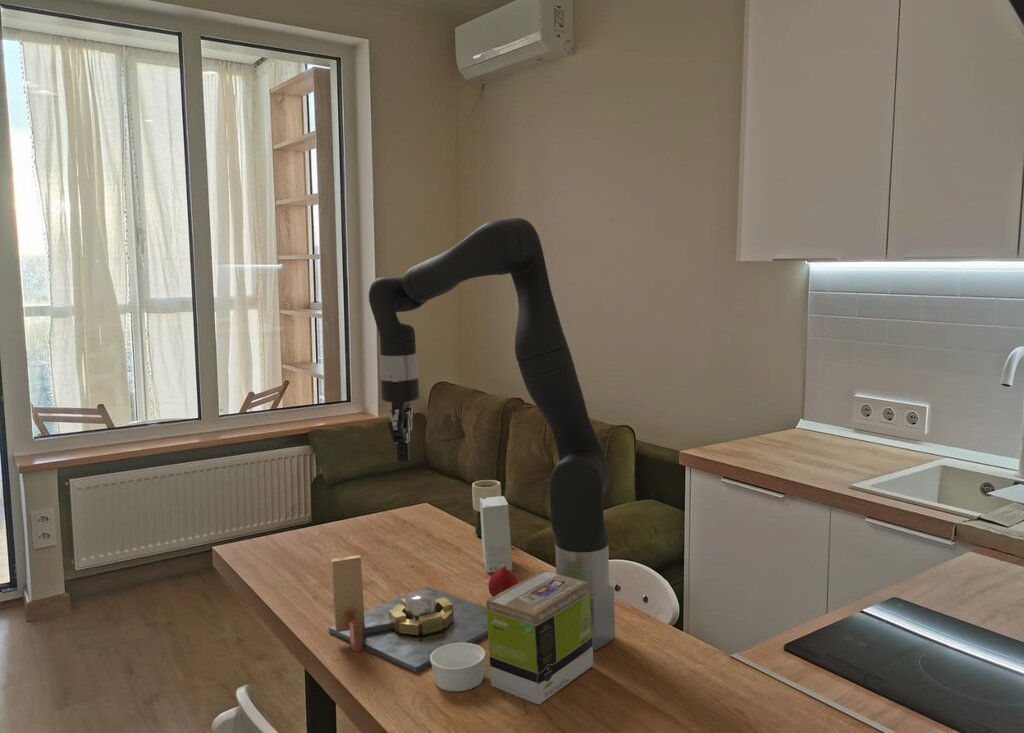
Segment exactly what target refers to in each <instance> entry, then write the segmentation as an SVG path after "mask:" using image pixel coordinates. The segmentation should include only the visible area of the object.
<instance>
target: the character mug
mask: <svg viewBox="0 0 1024 733" xmlns="http://www.w3.org/2000/svg"><path fill="white" fill-rule="evenodd" d="M471 491H472V493H471V494H472V508H473V510H474V511H476V512H477V513H476V519H475V521H476V522H475V535H476V536H479V537H482V533H481V515H480V498H488V497H498V496H502V485H501V482H500V481H499V480H495V479H484V480H477V481H475V482H473V483H471Z"/></svg>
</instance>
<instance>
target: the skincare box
mask: <svg viewBox="0 0 1024 733" xmlns="http://www.w3.org/2000/svg"><path fill="white" fill-rule="evenodd" d="M480 515H481V533H482V536H481V546H482V549H481V550H482V561H483V565H484V568H485V570H486V573H487V574H488V573H489V574H491V573H492V574H493V573H494V572H496V571H497V570H498V569H499V568H500V567H501V566H502V565H505V566H506V569H508V570H509V571H511V572H512V571H513V560H512V559H513V558H512V555H513V554H512V543H511V541H512V540H511V528H510V527H511V526H510V514H509V503H508V501H507V499H506V497H505V496H504V495H501V496H498V497H488V498H480Z"/></svg>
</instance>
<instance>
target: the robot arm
mask: <svg viewBox="0 0 1024 733" xmlns="http://www.w3.org/2000/svg"><path fill="white" fill-rule="evenodd" d="M509 274H510V277H511V279H512V282H513V284H514V289H515V292H516V296H517V301H518V302H517V304H518V315H517V322H516V330H515V335H514V336H515V337H514V353H515V358H516V361H517V365H518V368H519V372H520V374H521V378H522V380H523V383H524V386H525V389H526V390H527V392H528V394H529V396H530V398H531V400H532V401H533V402H534V404H535V406H536V407H537V408H538V410H539V412H540V413H541V414H542V416H543V418H544V419H545V420H546V422H547V425H548V426H549V428H550V431H551V435H552V436H553V440H554V443H555V444H554V445H555V447H556V450H557V455H558V460H559V461H558V463H557V464H555V466H554V468H553V469H552V471H551V474H550V477H549V504H550V505H549V506H550V507H549V508H550V510H549V511H550V520H551V528H552V532H553V534H554V541H555V542H554V543H555V544H554V546H555V574H558V575H562V576H566V577H570V578H574V579H579V580H583V581H587V582H589V583H590V602H591V621H592V645H593V652H594V651H597V650H599V649H600V648H601V647H604V646H605V645H606V644H608V643H609V642H611V641H613V640H614V638H615V639H616V627H615V626H616V625H615V624H616V621H615V619H616V618H615V587H614V586H613V585H610V572H609V571H610V567H609V566H610V565H609V562H610V561H609V558H610V557H609V529H608V528H607V526H606V525H605V519H604V495H605V493H606V491H607V490H608V489H609V486H610V483H611V469H610V465H609V463H608V459H607V457H606V455H605V453H604V450H603V448H602V446H601V444H600V442H599V440H598V437H597V434H596V432H595V430H594V428H593V426H592V423H591V419H590V417H589V414H588V410H587V407H586V406H587V405H586V402H585V398H584V395H583V391H582V388H581V384H580V381H579V378H578V374H577V372H576V367H575V363H574V360H573V357H572V354H571V350H570V347H569V344H568V342H567V338H566V336H565V332H564V331H563V328H562V325H561V320H560V317H559V314H558V310H557V307H556V303H555V300H554V296H553V292H552V289H551V284H550V280H549V279H550V278H549V274H548V270H547V265H546V260H545V256H544V250H543V246H542V244H541V239H540V237H539V234H538V232H537V230H536V229H535V226H533V225H532V224H531V222H530V221H528V220H527V219H525V218H521V217H513V218H512V217H511V218H504V219H498V220H491V221H488V222H486V223H483V225H481V226H479V227H478V228H476V229H475V230H474V231H472V232H471V233H470V234H469V235H467V236H466V237H464V239H462V240H461V241H460V242H458V243H457V244H456V245H454V246H452V247H451V248H449V249H448V250H446V251H444V252H442V253H439V254H438V255H436V256H433V257H431V258H429V259H426V260H424V261H422V262H420V263H418V264H416V265H414V266H412V267H410V268H409V269H407V271H405V273H404V274H403V276H384V277H383V276H382V277H377V278H376V279H374V280H373V281H372V283H371V284H370V288H369V292H368V301H369V305H370V309H371V312H372V315H373V318H374V322H375V324H376V328H377V330H378V335H379V344H380V346H379V348H380V361H379V364H380V365H379V370H380V372H379V373H380V390H381V392H380V393H381V400H382V401H383V402H386V403H391V409H390V410H389V420H388V422H387V424H388V428H389V430H390V431H389V432H390V435H391V439H392V442H393V443H395V444H396V454H397V455H396V456H397V457H396V458H397V461H398V462H401V463H402V462H405V463H406V462H408V461H409V460H410V457H411V454H410V453H411V452H410V441H411V437H412V436H413V425H414V416H415V412H414V408H413V407H411V402H412V401H416V400H418V399H419V398H420V388H419V387H420V386H419V382H420V381H419V366H418V359H417V349H416V344H417V343H416V332H415V329H414V327H413V326H412V325H411V324H407V323H401V322H400V320H399V318H398V315H397V313H402V312H403V313H405V312H410V311H415V310H418V309H419V308H422V306H423V305H425V304H426V303H427V302H428V301H430V300H432V299H435V298H437V297H440V296H441V295H445V294H447V293H449V292H450V291H452V290H453V289H455V288H456V287H457V286H458V285H459V284H460V283H462V282H464V281H468V280H470V279H475V278H476V279H477V278H481V277H487V276H503V275H509Z"/></svg>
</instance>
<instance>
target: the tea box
mask: <svg viewBox="0 0 1024 733" xmlns="http://www.w3.org/2000/svg"><path fill="white" fill-rule="evenodd" d="M486 608H487V620H488V636H487V638H488V650H489V651H488V654H489V656H488V657H489V673H490V685H491V686H492V687H493V688H494V687H496V688H495V689H497V688H498V689H497V690H499V689H501V690H500V691H502V690H504V691H506V692H505V693H507V692H508V693H507V694H509V693H510V695H512V694H513V695H512V696H514V695H515V696H514V697H517V698H519V697H520V699H523V700H524V699H525V701H527V702H530V703H532V704H535V705H541V704H542V703H544V702H545V701H546V700H548V699H550V697H552V696H553V695H555V694H556V693H557V692H559V691H560V690H561V689H563V688H564V687H565V686H567V685H568V684H570V683H571V682H573V681H574V680H575V679H576V678H578V677H579V676H581V675H582V674H583V673H585V672H587V671H588V670H589V669H590V668H591V667H593V666H594V650H593V645H592V621H591V602H590V583H589V582H587V581H583V580H579V579H574V578H570V577H566V576H562V575H558V574H556V573H555V572H554V573H553V572H550V571H545V570H540V571H539V572H537V573H535V574H533V575H531V576H529V577H528V578H526V579H524V580H523V581H520V582H518V584H516V585H514V586H512V587H510V588H509V589H507V590H505V591H503V592H501V593H499V594H498V595H496V596H494V597H492V596H491V598H490V597H489V598H488V599H486ZM504 691H503V692H504Z"/></svg>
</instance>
